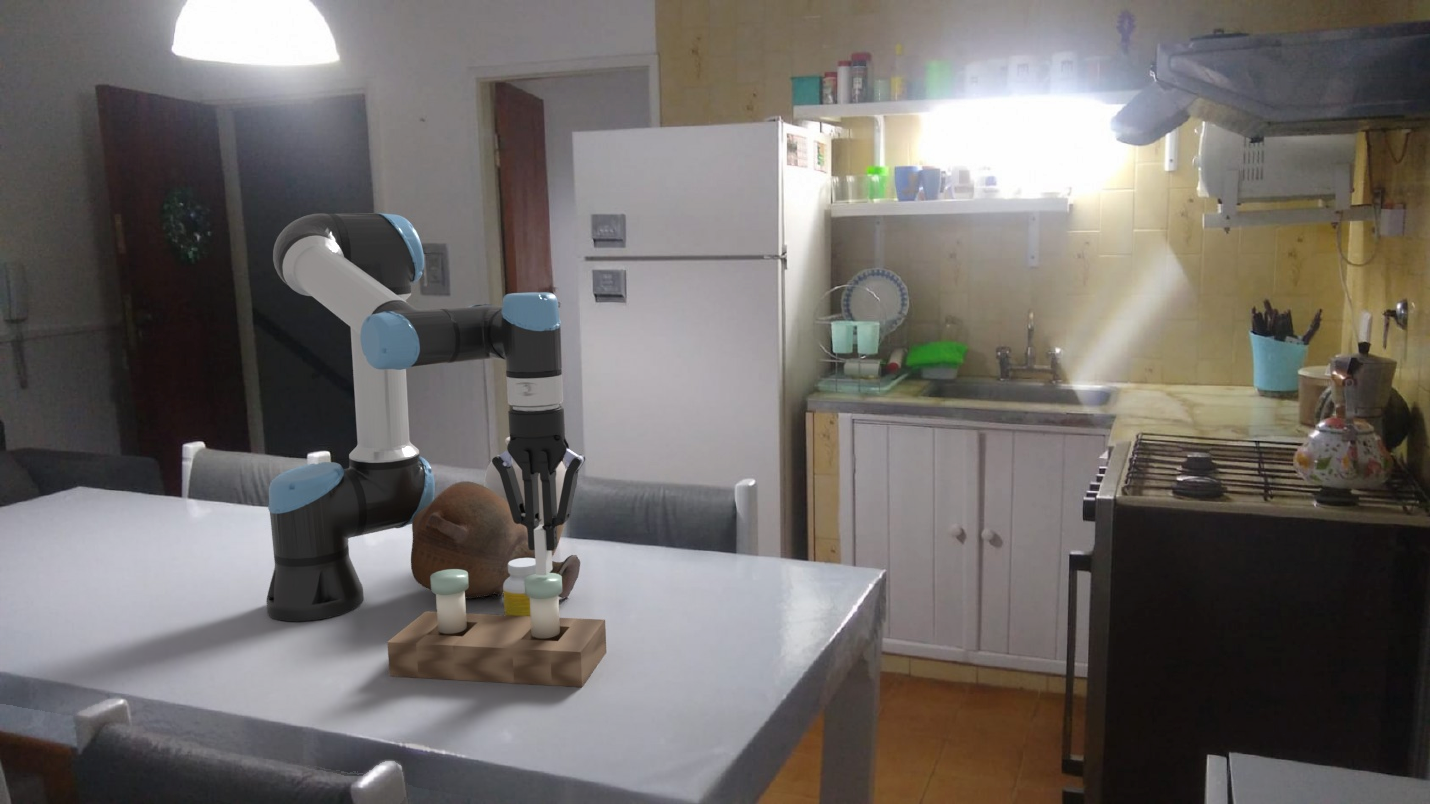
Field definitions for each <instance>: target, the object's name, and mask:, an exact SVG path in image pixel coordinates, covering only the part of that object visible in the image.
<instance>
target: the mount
mask: <svg viewBox="0 0 1430 804" xmlns="http://www.w3.org/2000/svg"><path fill="white" fill-rule="evenodd" d="M559 621H560V633H559V634H558V635H557V636H554V637H551V638H536V637H533V636H532V635H531V617H530V616H513V615H505V614H492V613H491V614H488V613H487V614H485V613H467V612H466V622H467V628H466V629H465V630H464V631H461V632H458V633H452V634H445V633H441V632H439V631H438V620H437V611H424V612H423V613H422V614H420V615H419V616H418V617H417V618H415V619H414V620H413V621H412V622H411V623H409V624H408V625H407V626H405V627H404V628H403V629H402V630H401V631H399V632H398V633H397V634H395V635H394V636H393V637H392V638H390V639H389V640H388V641H387V642H386V643H387V644H386V645H387V655H388V656H387V657H388V671H389V677H397V678H398V677H401V678H415V679H416V678H418V679H434V680H435V679H437V680H451V681H452V680H454V681H470V682H471V681H472V682H474V681H475V682H485V683H486V682H488V683H505V684H506V683H507V684H519V685H538V686H541V685H543V686H557V687H575V688H583V686H585V684H586V683H587V681H588V679H589V678H590V676H591V675H592V674H593V672H594V671H595V670H596V668H597V667H598V665H599V664H600V662H601V661H602V660H603V658H604V657H605V655H606V654H607V634H606V633H607V632H606V630H607V629H606V619H599V618H598V619H597V618H596V619H595V618H575V617H559Z"/></svg>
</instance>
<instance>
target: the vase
mask: <svg viewBox="0 0 1430 804" xmlns="http://www.w3.org/2000/svg"><path fill="white" fill-rule="evenodd" d="M509 441H510V436H508V437H506V438H505V439H504V442H505V444H506V445H507V446H508V443H509ZM512 460H513V464H512V466H513V468H514V470H515V474H516V477H517V481H518V484H519V488H520V491H521V494H522V498H523V501H524V505H525V497H524V481H523V480H522V470H521V469H520V467H519V466H518V465H517V463H516V462H515V461H514V459H513V458H512ZM566 470H567V468H566V466H565V463H564V462H563V460H562V461H561V463H560V464H559V466H558V467H557V468H556V497H557V513H558V508H559V503H560V497H561V492H562V487H563V482H564V476H565V473H566ZM483 486H485V487H486V488H488V489H490V490H492V491H493V492H495V493H496V494H498V495H499V496H500V497H502V498H503V499H504V500H506V501H507V502H508V500H507V497H506V494H505V490H504V487H503V483H502V480H501V476H500V473H499V472H498V470H497V469H496V468H495V466H494V465H493V463H492V460H491V461H490V462H489V464H488V466H487V467H486V471H485V474H484V483H483ZM538 491H539V512H540V519H542V520H541V522H540V523H539V525H544V518H543V499H542V482H541V480H540V473H539V476H538ZM564 525H565V523H564V524H563V525H558V526H557V541H558V545H559V543H560V540H561V537H562V534H563V531H564ZM526 529H527V528H526ZM527 533H528V532H527ZM558 545H557V548H556V549H555V550H554V551H552V556H553V555H554V554H555V552H556V551H557V549H558ZM534 551H535V550H534Z"/></svg>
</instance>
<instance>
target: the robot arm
mask: <svg viewBox="0 0 1430 804" xmlns="http://www.w3.org/2000/svg"><path fill="white" fill-rule="evenodd" d="M272 261H273V265H274V268H275V270H276V272H277V275H278V276H279V278H280V279H281V280H282V282H283V283H284V284H286V286H288V287H289V288H290V289H291V290H293V291H294V292H296V293H298V294H299V295H303V296H307V297H312V298H314V299H315V300H316V301H317V302H319V303H320V304H321V305H322V306H324V307H325V308H326V309H328V310H329V311H330V312H331V313H333V314H334V315H335V316H336V317H338V319H340V321H343V322H344V323H345V324H346V325H348V326H349V327H350V339H351V340H350V342H351V355H352V356H351V357H352V370H353V371H352V374H353V375H352V377H353V390H354V406H355V407H354V408H355V424H356V439H357V444H356V447H354V448H353V450H352V451H351V452H349V454H348V458H349V459H348V460H349V467H348V468H343V466H342V465H341V464H340V463H339V462H338V463H337V462H332V461H324V462H319V463H308V464H304V465H300V466H297V467H294V468H291V469H288V470H285V471H284V472H281V473H280V474H278V475H276V477H275V478H273V479H272V480H271V481H270V483H269V486H268V506H267V507H268V512H269V516H270V519H269V520H270V525H271V526H270V527H271V537H272V538H271V539H272V540H271V541H272V548H273V549H272V550H273V558H274V559H273V561H274V569H273V573H272V576H271V579H270V580H271V581H270V583H269V584H270V585H269V588H268V591H267V597H266V601H265V602H266V611H267V615H268V616H270V618H272V619H275V620H280V621H285V622H309V621H315V620H316V621H317V620H323V619H327V618H332V617H336V616H340V615H342V614H345V613H348V612H350V611H352V610H355V609H357V608H358V607H360V606H361V604H363V602H364V588H363V584H362V582H361V579H360V578H359V575H358V573H357V571H356V569H355V567H354V564H353V562H352V559H351V557H350V550H349V549H350V548H349V539H350V538H355V537H360V536H364V535H370V534H373V533H379V532H383V531H387V530H393V529H402V528H404V527H407V526H409V525H412V522H413V519H414V517H415V515H416V514H417V513H418V512H420V511H421V510H422V509H424V508H425V507H427V506H428V505H429V504H430V503H431V502H433V500H434V499H435V490H436V489H435V488H436V485H435V484H436V483H435V476H434V474H433V473H432V470H433V469H432V467H431V464H430V463H429V461H427V459H425V458H424V457H422V456H420V450H419V448H417V447H416V445H414V444H412V443H411V441H410V439H411V438H410V424H409V404H408V384H407V369H411V368H419V367H426V366H427V367H428V366H435V365H443V364H453V363H463V362H473V361H483V360H503V361H505V370H506V371H505V373H506V377H505V378H506V392H507V404H508V405H510V406H511V408H510V409H509V410H508V411H507V412H508V429H509V430H508V432H509V437H510V441H509V443H508V445H507V447H506V450H505V451H504V452H501V453H499V454H498V455H496V456H494V457H493V458H492V459H491V461H492V463H493V465H494V466H495V468H496V469H497V470H498V472H499V473H500V476H501V480H502V483H503V487H504V490H505V494H506V497H507V500H508V504H509V507H510V511H511V514H512V518H513V521H514V523H516V524H522V525H524V526H526V528H527V532H528V547H529V549H530V550H535V563H536V575H547V574H548V573H549V572H550V571H551V570H552V561H553V555H552V551H554V550H555V549H556V548H557V549H558V546H557V545H559V543H558V541H557V526H558V525H563V524H564V525H565V523H566V522H567V521H568V520H570V517H571V514H572V513H571V511H572V508H573V502H574V498H575V493H576V487H577V486H576V485H577V482H578V477H579V471H580V469H581V468H582V466H583V464H584V463H585V461H586V456H585V455H584V454H582V453H581V454H577V453H576V452H574V451H573V450H571V449H570V444H569V442H568V441H567V439H566V436H565V435H566V428H565V408H564V407H563V406H562V405H560V404H562V403H563V402H564V386H563V385H564V384H563V374H562V373H563V371H562V368H563V363H562V336H561V335H562V333H561V325H562V320H561V318H560V311H559V302H558V298H557V296H556V295H555V294H554V293H552V292H543V291H542V292H538V291H537V292H535V291H534V292H533V291H532V292H514V293H507V294H505V295H504V296H503V298H502V305H492V303H491V304H490V303H483V304H473V305H469V306H465V307H451V308H434V309H418V308H416V307H415V306H413V305H412V304H409V302H407V300H408V299H409V297H411V295H412V284H414V283H416V282H418V281H419V280H420V279H421V277H422V276H423V271H424V268H425V256H424V250H423V246H422V242H421V239H420V237H419V233H418V232H417V230H416V229H415V228H414V226H413V224H412V223H411V222H410V221H409V220H408V219H407V218H406V217H404V216H401V215H399V214H393V213H379V212H374V213H373V212H372V213H371V212H370V213H313V214H307V215H305V216H302V217H299V218H298V219H294V220H293V221H292V222H290V223H288V225H286V227H284V228H283V230H281V232H280V233H279V235H278V236H277V238H276V241H275V242H274V245H273V252H272ZM512 458H513V459H514V461H515V462H516V463H517V465H518V466H519V467H520V469H521V470H522V480H523V481H524V497H525V505H524V501H523V498H522V494H521V491H520V488H519V484H518V481H517V477H516V474H515V470H514V468H513V466H512V464H513V460H512ZM564 459H565V460H564ZM563 460H564V461H565V462H564V466H565V468H566V473H565V476H564V482H563V487H562V492H561V497H560V503H559V508H558V513H557V497H556V468H557V467H558V466H559V464H560V463H561V461H562V462H563ZM539 473H540V480H541V482H542V499H543V518H544V525H539V523H540V522H541V520H542V519H540V512H539V491H538V476H539ZM557 549H556V550H557Z"/></svg>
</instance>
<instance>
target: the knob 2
mask: <svg viewBox="0 0 1430 804" xmlns="http://www.w3.org/2000/svg"><path fill="white" fill-rule="evenodd" d="M524 584H525V595H526V596H527V597H530V617H531V635H532V636H533V637H536V638H551V637H554V636H557V635H558V634H559V633H560V621H559V618H560V603H559V602H560V601H559V599H560V598H559V597H558V595H560V594H561V593H562V576H561V575H559V574H556V573H548V574H547V575H536V574H533V575H530V576H528V577H526V578H525V579H524Z"/></svg>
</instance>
